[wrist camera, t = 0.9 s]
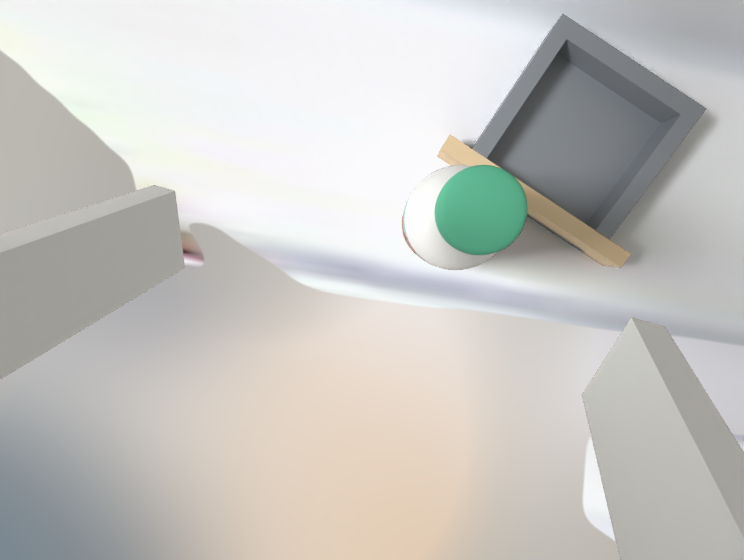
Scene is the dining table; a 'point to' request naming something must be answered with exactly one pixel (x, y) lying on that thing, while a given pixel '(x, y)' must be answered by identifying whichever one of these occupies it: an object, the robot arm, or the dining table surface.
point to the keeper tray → (582, 137)
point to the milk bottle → (464, 215)
